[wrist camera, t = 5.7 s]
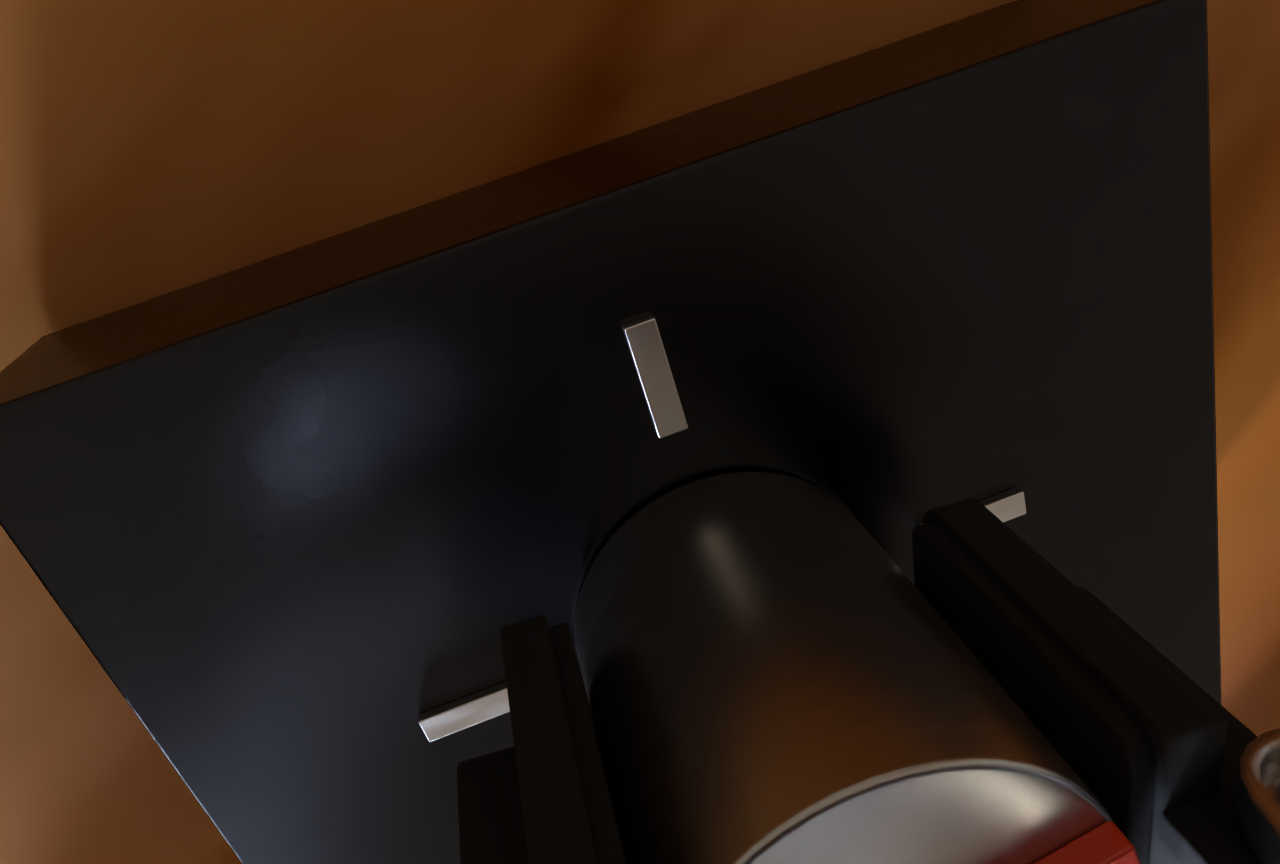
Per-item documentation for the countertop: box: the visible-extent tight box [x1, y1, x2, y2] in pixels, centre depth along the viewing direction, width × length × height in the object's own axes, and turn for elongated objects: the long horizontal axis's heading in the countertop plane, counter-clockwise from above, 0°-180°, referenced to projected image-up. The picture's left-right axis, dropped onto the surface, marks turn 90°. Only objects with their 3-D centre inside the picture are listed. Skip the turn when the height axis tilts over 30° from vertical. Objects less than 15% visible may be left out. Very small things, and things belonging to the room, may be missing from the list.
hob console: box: [0, 0, 1221, 864], centre depth 13 cm, size 14×11×3 cm
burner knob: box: [574, 472, 1141, 864], centre depth 10 cm, size 4×4×5 cm
